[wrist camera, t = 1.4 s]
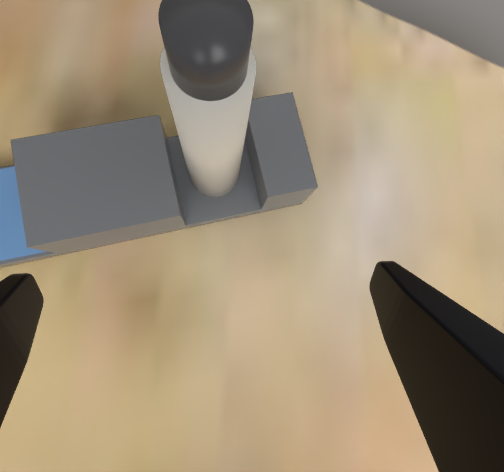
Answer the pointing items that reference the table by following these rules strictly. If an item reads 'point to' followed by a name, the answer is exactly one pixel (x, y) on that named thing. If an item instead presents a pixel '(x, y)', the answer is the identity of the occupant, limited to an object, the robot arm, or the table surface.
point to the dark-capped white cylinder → (209, 85)
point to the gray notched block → (140, 183)
